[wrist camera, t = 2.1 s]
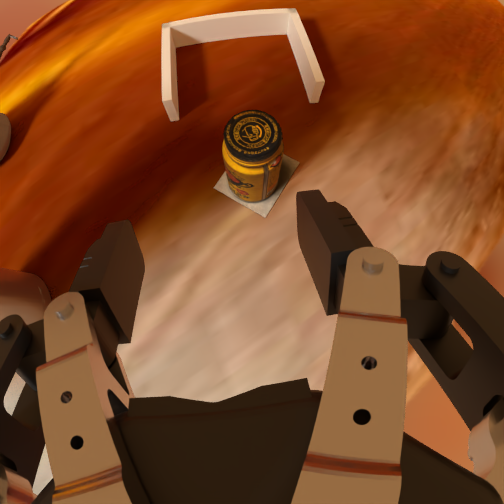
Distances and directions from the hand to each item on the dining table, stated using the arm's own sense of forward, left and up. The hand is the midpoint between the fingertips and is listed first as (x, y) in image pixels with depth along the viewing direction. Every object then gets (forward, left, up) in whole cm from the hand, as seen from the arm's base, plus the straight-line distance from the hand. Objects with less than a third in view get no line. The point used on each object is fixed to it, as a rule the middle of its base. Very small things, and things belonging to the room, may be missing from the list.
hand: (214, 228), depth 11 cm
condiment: (+4, +12, -27) cm, 30 cm away
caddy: (+4, +30, -26) cm, 40 cm away
